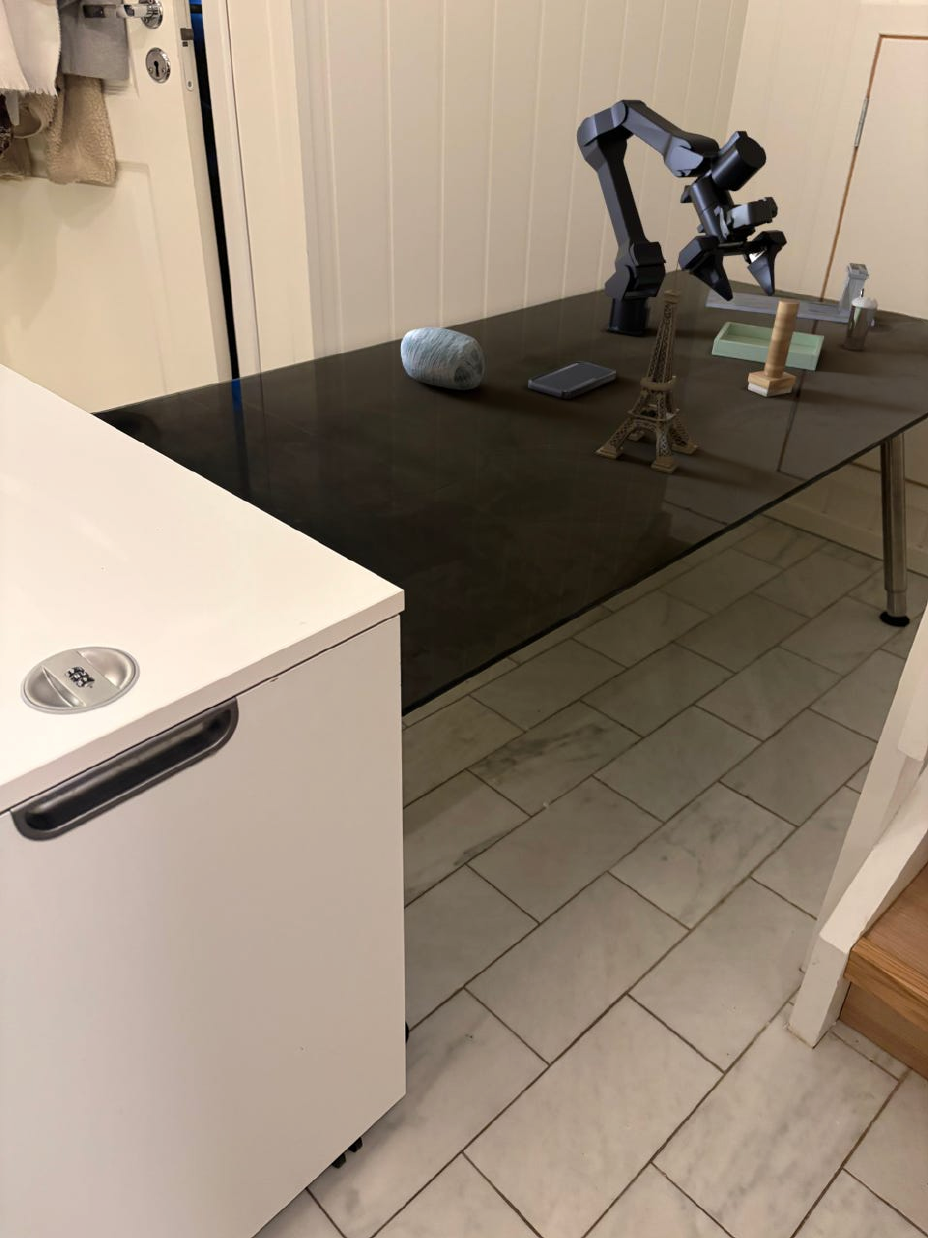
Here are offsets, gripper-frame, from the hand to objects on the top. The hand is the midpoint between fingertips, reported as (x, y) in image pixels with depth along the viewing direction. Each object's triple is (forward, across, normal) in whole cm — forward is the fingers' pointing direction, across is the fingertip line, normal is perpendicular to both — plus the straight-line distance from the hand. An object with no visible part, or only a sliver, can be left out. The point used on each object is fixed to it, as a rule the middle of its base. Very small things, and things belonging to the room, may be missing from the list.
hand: (751, 297), depth 150 cm
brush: (+14, 0, +4) cm, 15 cm away
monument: (-12, +44, +30) cm, 54 cm away
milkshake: (+6, +34, +12) cm, 36 cm away
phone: (+4, -28, +15) cm, 32 cm away
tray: (+3, +16, +15) cm, 22 cm away
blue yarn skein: (-2, -47, +20) cm, 52 cm away
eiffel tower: (+23, -35, -4) cm, 42 cm away
